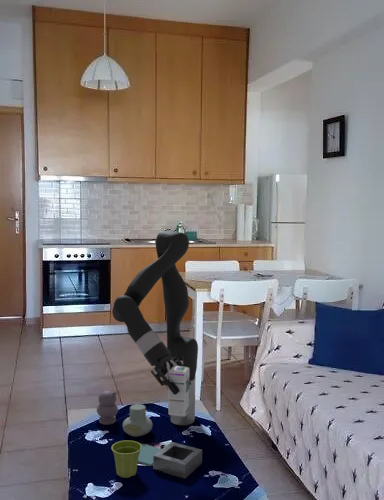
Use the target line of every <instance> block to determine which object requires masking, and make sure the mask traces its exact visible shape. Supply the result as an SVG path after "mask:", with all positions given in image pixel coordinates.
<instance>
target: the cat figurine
mask: <svg viewBox="0 0 384 500" xmlns="http://www.w3.org/2000/svg"><path fill="white" fill-rule="evenodd" d="M97 399H98V404H97V407H96V413H97V415H98V416H99V419H98V420H99V421H98V422H99V423H100V424H101V425H107V426H108V425H113V424H114V423H116V421H117V420H116V419H117V418H116V415H117V414H118V411H119V407H118V405H117V404H116V401H117V392H113V391H111V390H105V389H104V388H102V389H101V393H99V395H98V397H97Z"/></svg>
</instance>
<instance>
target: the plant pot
mask: <svg viewBox="0 0 384 500" xmlns="http://www.w3.org/2000/svg"><path fill="white" fill-rule="evenodd" d="M141 444H142V443H140V442H138V441H135V440H120V441H116V442H114V444H112V445H111V451H112V453H113V457H114V463H115V464H114V465H115V470H116V471H115V472H116V475H117V476H119V477H120V478H126V479H128V478H131V477H132V476H133V477H134V476H136V474H137V471H138V457H139V453H140V450H141V449H142V445H141Z"/></svg>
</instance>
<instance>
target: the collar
mask: <svg viewBox="0 0 384 500" xmlns="http://www.w3.org/2000/svg"><path fill="white" fill-rule="evenodd" d="M161 449H162V450H160V451H159V452H158V453H157V454H155V455H154V456H153V465H152V468H153V469H152V470H154V469H155V470H154V471H157V470H159V471H158V472H160V471H162V472H161V473H164V474H168V475H170V476H175V477H177V478H182V479H185V480H186V478H187V477H189V476H190V475H191V474H192V473H193V472H195V470H196V469H197V468H198V467H200V466H201V465H202V464H203V449H200V448H197V447H193V446H190V445H185V444H182V443H179V442H178V443H177V442H173V441H171V442H169V443H168V444H166V445H165V446H164V447H163V448H161Z"/></svg>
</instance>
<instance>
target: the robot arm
mask: <svg viewBox="0 0 384 500" xmlns="http://www.w3.org/2000/svg"><path fill="white" fill-rule="evenodd" d="M189 245H190V241H189V237H188V235H186V234H185V233H184V232H180V231H175V230H172V231H171V230H161V231H159V232H158V234H157V236H156V239H155V249H156V255H157V259H156V260H155V261H153V262H151V263H150V264H148V265H146V266H145V267H144V268H142V269H141V270H140V271H139V272H138V273H137V274H136V275H135V276H134V277H133V279H132V280H131V282H130V283H129V285H128V286H127V289H126V291H125V292H124V293H123V295H118V297H116V299H115V301H114V302H113V307H112V310H111V311H112V312H111V313H112V316H113V318H114V320H115V321H117V322H118V323H124V324H125V326H126V328H127V329H126V330H127V334H129V336H130V337H131V339H132V340H133V342H134V343H135V344H136V346H137V348H138V350H139V351H140V353H141V354H142V355H143V357H144V359H146V360H147V362H148V364H149V365H150V366H151V367H153V368H152V370H150V373H151V374H152V375H153V377H154V378H155V379H156V381H157V382H158V383H159V384H160V386H161V387H164V386H166V387H169V389H170V390H171V391H172V393H173V394H174V395H176V394H177V393H178V392H179V391H180V390H179V388H178V387H177V386H176V384H175V383H174V382H172V378H171V377H170V376H169V371H170V369H171V368H173V366H184V367H189V411H188V413H187V414H186V416H185V417H184V416H174V415H170V422H171V423H172V424H174V425H178V426H189V425H192V424H193V423H195V419H196V373H197V368H198V358H199V357H198V355H199V354H198V353H199V345H198V340H196V339H195V338H193V337H189V336H182V335H181V323H182V320H183V318H184V317H185V316H186V313H187V312H188V309H189V305H190V302H189V289H188V287H187V284H186V282H185V281H184V278H183V276H182V275H181V274H180V271H179V270H178V269H177V266H176V263H177V262H178V261H180V260H181V258H182V257H184V256H185V255H186V254H187V252H188V249H189V248H190V246H189ZM159 280H161V282H162V284H161V285H162V292H163V303H164V308H165V309H164V311H165V317H166V318H165V320H166V321H165V322H166V344H165V343H164V342H163V341H162V339H161V338H160V336H159V335H158V334H157V333H156V332H155V330H153V328H152V327H151V326H150V324H149V323H148V322H147V321H146V319H145V318H144V315H143V313H142V312H141V310H140V308H139V307H140V305H141V303H142V302H143V300H144V299H145V298H146V297H147V296H148V294H149V293H150V291H151V290H152V289H153V288H154V286H155V285H156V284H157V282H159Z"/></svg>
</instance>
